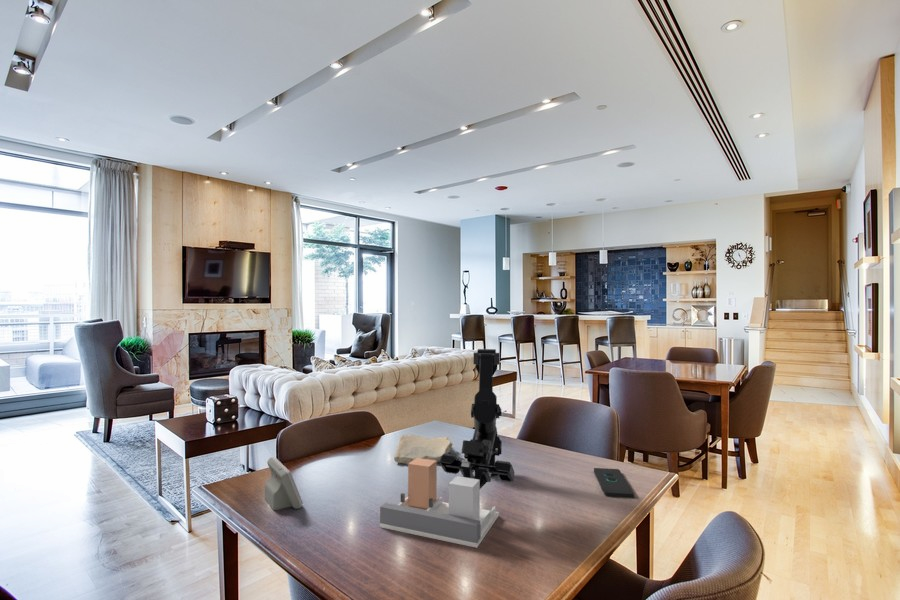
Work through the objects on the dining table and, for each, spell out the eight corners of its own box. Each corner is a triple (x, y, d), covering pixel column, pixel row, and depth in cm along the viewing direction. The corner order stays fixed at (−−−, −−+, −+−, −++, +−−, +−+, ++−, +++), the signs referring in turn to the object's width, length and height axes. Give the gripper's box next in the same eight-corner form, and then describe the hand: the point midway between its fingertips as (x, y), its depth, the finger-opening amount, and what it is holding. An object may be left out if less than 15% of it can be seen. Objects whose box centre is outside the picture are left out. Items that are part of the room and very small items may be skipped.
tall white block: (456, 520, 117) (456, 476, 117) (479, 525, 115) (479, 479, 115) (448, 529, 112) (448, 483, 112) (472, 534, 110) (472, 487, 110)
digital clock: (303, 510, 125) (303, 470, 125) (267, 517, 122) (267, 475, 122) (296, 488, 140) (296, 452, 140) (263, 493, 137) (263, 456, 137)
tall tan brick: (416, 497, 130) (416, 457, 130) (436, 501, 128) (436, 460, 128) (408, 505, 126) (408, 463, 126) (428, 509, 123) (428, 466, 123)
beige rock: (451, 446, 184) (399, 441, 184) (453, 427, 184) (401, 422, 184) (450, 471, 160) (390, 465, 160) (452, 449, 159) (393, 443, 160)
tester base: (411, 500, 132) (411, 482, 132) (498, 515, 122) (498, 496, 122) (380, 527, 116) (380, 506, 116) (476, 547, 107) (477, 525, 107)
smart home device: (619, 468, 154) (635, 493, 134) (619, 473, 154) (635, 499, 134) (592, 467, 155) (604, 491, 135) (592, 472, 155) (604, 498, 135)
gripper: (441, 422, 124) (423, 479, 114) (511, 430, 117) (499, 491, 107) (453, 444, 132) (437, 499, 121) (519, 452, 125) (508, 511, 114)
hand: (468, 500), depth 116 cm, fingers closed, pressing on tall white block
